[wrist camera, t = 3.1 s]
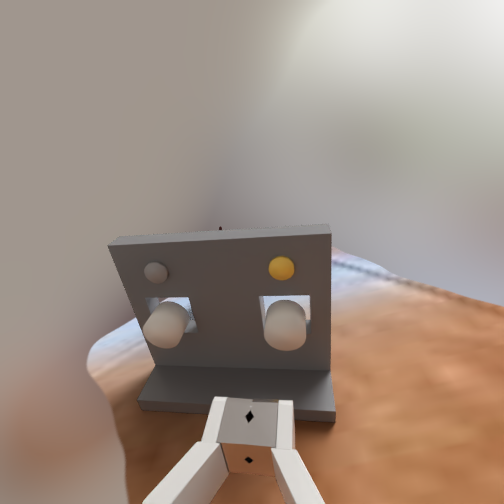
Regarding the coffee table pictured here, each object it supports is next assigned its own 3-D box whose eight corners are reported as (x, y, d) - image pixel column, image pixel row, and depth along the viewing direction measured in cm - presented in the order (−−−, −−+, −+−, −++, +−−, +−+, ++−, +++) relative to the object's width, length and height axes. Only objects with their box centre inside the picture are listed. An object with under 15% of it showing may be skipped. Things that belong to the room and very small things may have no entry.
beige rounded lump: (306, 351, 30) (305, 319, 28) (266, 350, 30) (261, 319, 28) (305, 329, 32) (304, 299, 30) (268, 329, 33) (264, 300, 31)
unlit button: (183, 348, 32) (174, 319, 30) (149, 348, 33) (137, 319, 31) (192, 329, 35) (184, 301, 33) (160, 329, 36) (150, 301, 34)
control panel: (335, 422, 31) (339, 260, 22) (141, 410, 36) (73, 270, 26) (328, 364, 38) (328, 222, 29) (167, 359, 43) (120, 235, 33)
